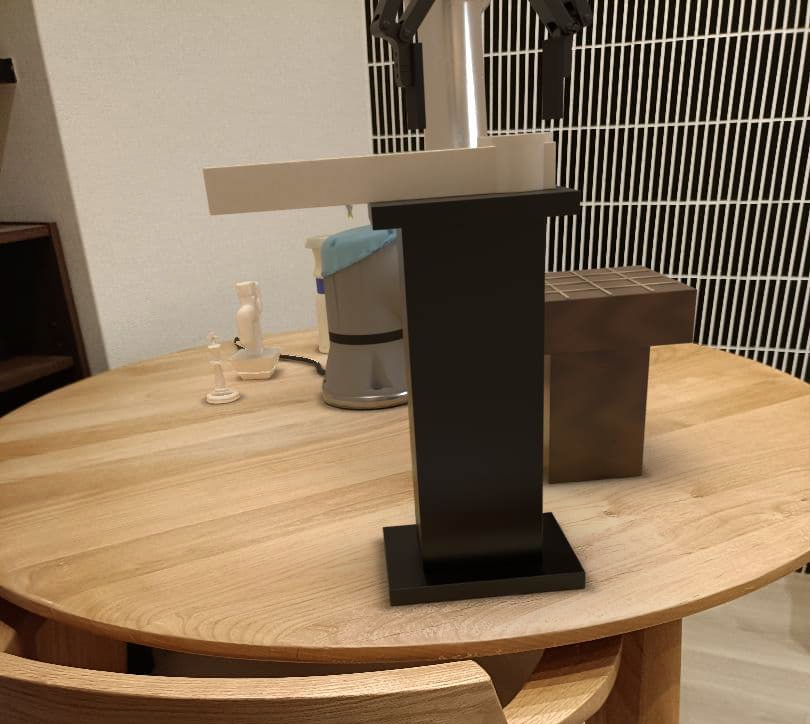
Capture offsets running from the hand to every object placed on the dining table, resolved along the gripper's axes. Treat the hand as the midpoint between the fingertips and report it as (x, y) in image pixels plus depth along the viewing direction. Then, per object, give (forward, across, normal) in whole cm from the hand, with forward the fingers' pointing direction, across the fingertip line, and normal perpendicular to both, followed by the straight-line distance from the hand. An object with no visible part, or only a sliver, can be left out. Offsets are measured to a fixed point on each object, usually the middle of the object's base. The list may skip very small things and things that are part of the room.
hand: (486, 124), depth 75 cm
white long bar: (+4, -16, -16) cm, 23 cm away
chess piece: (+35, -22, +47) cm, 63 cm away
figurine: (+35, -15, +58) cm, 69 cm away
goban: (+34, +10, -2) cm, 36 cm away
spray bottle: (+35, +2, +68) cm, 77 cm away
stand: (+34, -10, -18) cm, 40 cm away
